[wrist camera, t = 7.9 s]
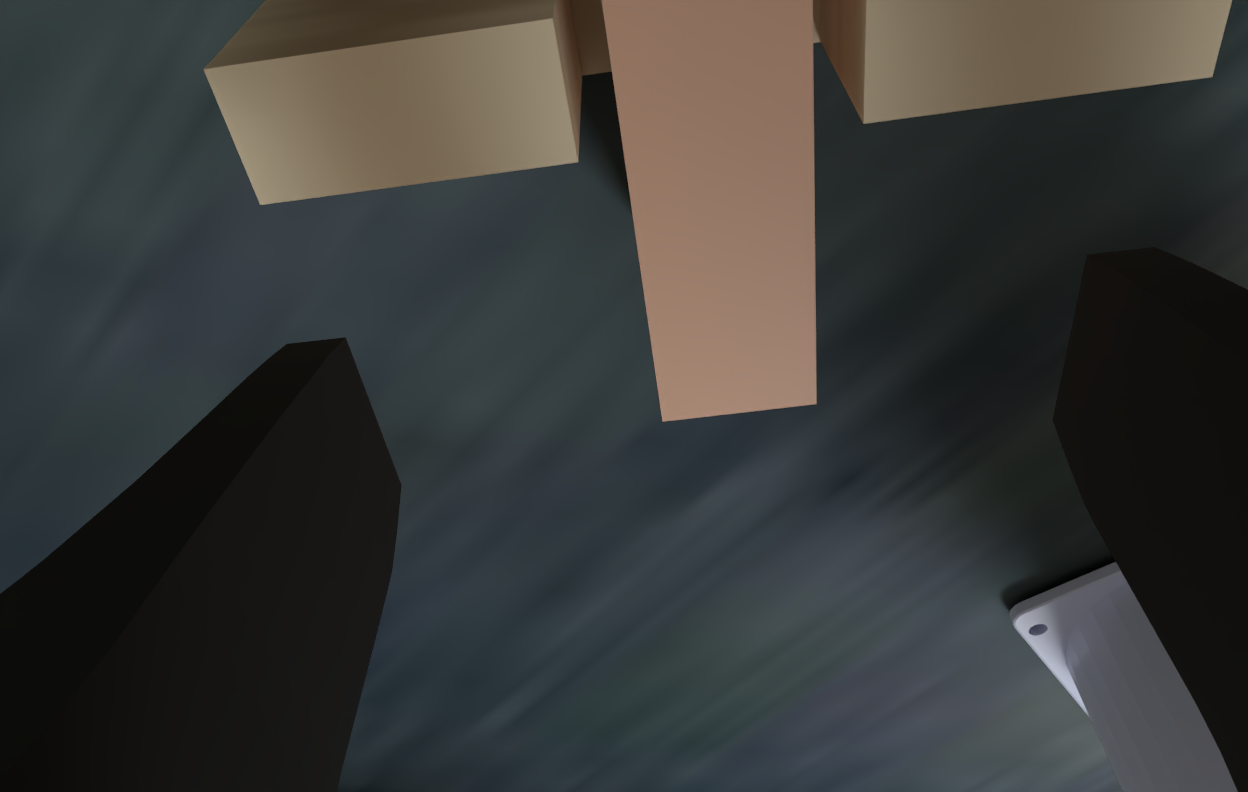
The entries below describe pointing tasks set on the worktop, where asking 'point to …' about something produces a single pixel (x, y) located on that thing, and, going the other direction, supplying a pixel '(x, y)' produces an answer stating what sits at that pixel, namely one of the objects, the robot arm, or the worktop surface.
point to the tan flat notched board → (721, 195)
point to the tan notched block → (577, 45)
